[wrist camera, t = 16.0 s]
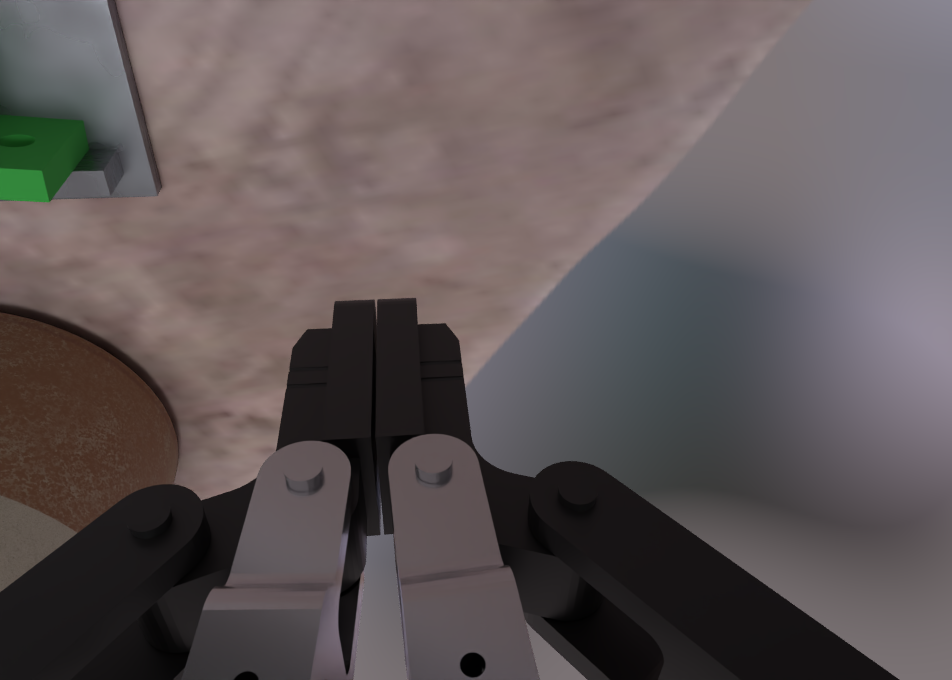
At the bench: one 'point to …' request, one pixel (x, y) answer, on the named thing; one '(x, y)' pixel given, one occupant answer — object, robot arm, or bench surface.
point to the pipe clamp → (38, 155)
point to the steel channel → (79, 90)
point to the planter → (69, 439)
